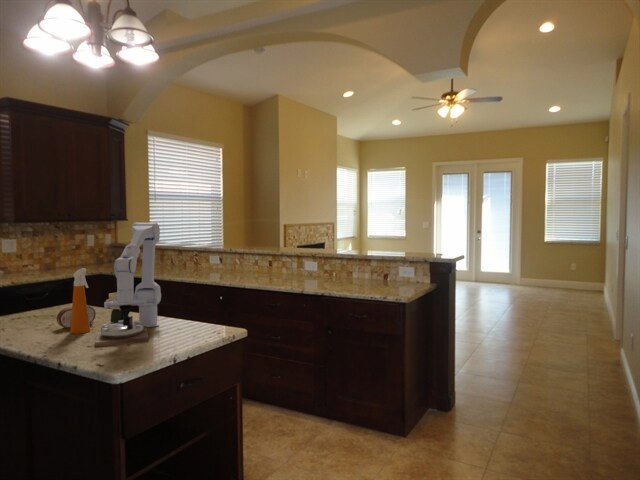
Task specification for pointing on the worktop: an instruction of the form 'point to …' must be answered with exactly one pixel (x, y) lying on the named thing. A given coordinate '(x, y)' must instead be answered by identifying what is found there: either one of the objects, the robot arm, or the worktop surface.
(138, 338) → the base board
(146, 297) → the robot arm
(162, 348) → the worktop surface
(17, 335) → the worktop surface
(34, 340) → the worktop surface
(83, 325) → the spray bottle
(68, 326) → the tin
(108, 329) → the grey disc with blocks
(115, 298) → the character mug
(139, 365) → the worktop surface
